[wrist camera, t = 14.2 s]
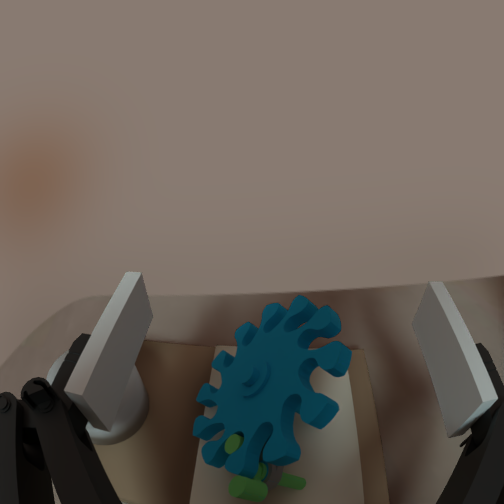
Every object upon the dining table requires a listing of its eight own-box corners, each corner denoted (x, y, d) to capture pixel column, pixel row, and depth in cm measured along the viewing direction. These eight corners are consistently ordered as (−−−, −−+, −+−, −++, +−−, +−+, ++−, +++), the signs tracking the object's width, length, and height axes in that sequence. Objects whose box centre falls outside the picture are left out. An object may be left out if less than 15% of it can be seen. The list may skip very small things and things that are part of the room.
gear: (212, 324, 21) (335, 257, 15) (273, 364, 23) (393, 318, 17) (159, 480, 13) (313, 501, 7) (241, 505, 15) (392, 509, 9)
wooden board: (358, 361, 22) (373, 319, 20) (380, 514, 12) (412, 496, 10) (103, 346, 23) (85, 305, 21) (51, 476, 13) (13, 448, 11)
